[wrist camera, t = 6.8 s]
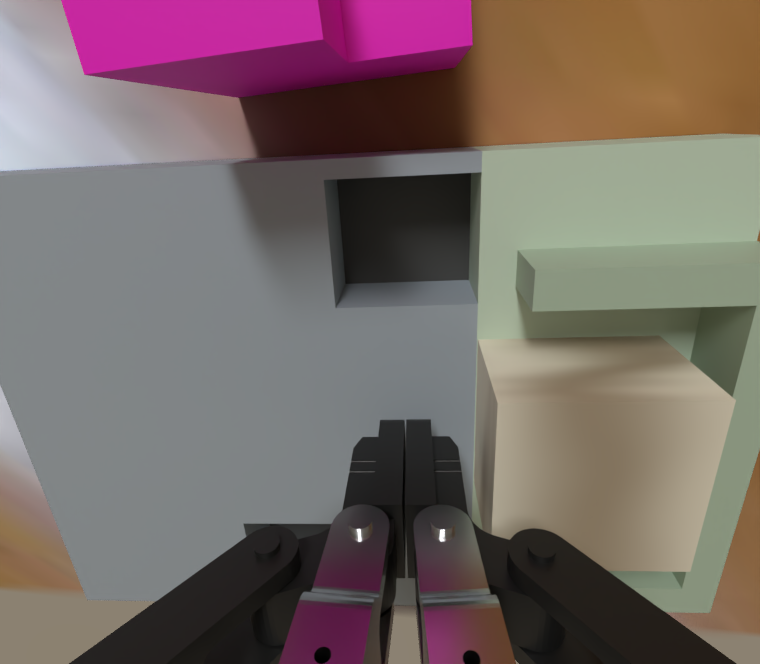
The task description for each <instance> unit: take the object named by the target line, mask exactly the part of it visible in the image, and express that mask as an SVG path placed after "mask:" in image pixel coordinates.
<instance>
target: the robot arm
mask: <svg viewBox="0 0 760 664" xmlns="http://www.w3.org/2000/svg"><path fill="white" fill-rule="evenodd" d="M406 543H407V568H408V578H415V593H416V615H417V625H418V637H419V648H420V659H421V664H516V662H515V660H516V661H517V662H518V663H519V664H736V663H735V662H733V661H732V660H730V659H729V658H728V657H726V656H725V655H724V654H722V653H721V652H719V651H718V650H717V649H715V648H714V647H712V646H711V645H710V644H708V643H707V642H706V641H704V640H703V639H701V638H700V637H699V636H697V635H696V634H695V633H693V632H692V631H690V630H689V629H688V628H686V627H685V626H683V625H682V624H681V623H679V622H678V621H677V620H675V619H674V618H672V617H671V616H670V615H668V614H667V613H665V612H664V611H663V610H661V609H660V608H659V607H657V606H656V605H654V604H653V603H652V602H650V601H649V600H647V599H646V598H645V597H643V596H642V595H641V594H639V593H638V592H636V591H635V590H634V589H632V588H631V587H629V586H628V585H627V584H625V583H624V582H623V581H621V580H620V579H618V578H617V577H616V576H614V575H613V574H611V573H610V572H609V571H607V570H606V569H604V568H603V567H602V566H600V565H599V564H598V563H596V562H595V561H593V560H592V559H591V558H589V557H588V556H586V555H585V554H584V553H582V552H581V551H580V550H578V549H577V548H575V547H574V546H573V545H571V544H570V543H568V542H567V541H566V540H564V539H563V538H562V537H560V536H558V535H557V534H555V533H553V532H550V531H547V530H543V529H537V528H530V529H524V530H521V531H519V532H517V533H516V534H515V535H513V537H512V538H511V539H510V540H509V539H505V538H501V537H498V536H494V535H491V534H489V533H487V532H485V531H483V530H482V529H480V528H479V527H478V526H476V525H475V524H474V522H473V521H472V520H471V518H470V516H469V514H468V511H467V504H466V497H465V490H464V484H463V477H462V470H461V463H460V456H459V449H458V446H457V445H456V444H455V443H454V441H453V440H452V439H451V438H450V436H432V431H431V419H406V444H405V421H404V420H380V425H379V434H378V437H362V438H361V439H360V441H359V442H358V443H357V444H356V445H355V447H354V448H353V453H352V459H351V464H350V470H349V476H348V481H347V487H346V492H345V498H344V503H343V509H342V511H341V512H340V513H338V514H337V515H336V517H335V518H334V520H333V522H332V524H331V527H330V528H328V529H327V530H325V531H323V532H321V533H319V534H316V535H312V536H308V537H305V538H301V539H297V537H296V535H295V534H294V533H293V532H292V531H291V530H289V529H288V528H285V527H281V526H269V527H264V528H261V529H258V530H256V531H254V532H253V533H251V534H249V535H248V536H247V537H245V538H244V539H242V540H241V541H240V542H238V543H237V544H235V545H234V546H233V547H231V548H230V549H228V550H227V551H226V552H224V553H223V554H221V555H220V556H219V557H217V558H216V559H215V560H213V561H212V562H210V563H209V564H208V565H206V566H205V567H203V568H202V569H201V570H199V571H198V572H196V573H195V574H194V575H192V576H191V577H189V578H188V579H187V580H185V581H184V582H182V583H181V584H180V585H178V586H177V587H175V588H174V589H173V590H171V591H170V592H168V593H167V594H166V595H164V596H163V597H161V598H160V599H159V600H157V601H156V602H155V603H153V604H152V605H150V606H149V607H148V608H146V609H145V610H143V611H142V612H141V613H139V614H138V615H136V616H135V617H134V618H132V619H131V620H129V621H128V622H127V623H125V624H124V625H122V626H121V627H120V628H118V629H117V630H115V631H114V632H113V633H111V634H110V635H109V636H107V637H106V638H104V639H103V640H102V641H100V642H99V643H97V644H96V645H95V646H93V647H92V648H90V649H89V650H88V651H86V652H85V653H83V654H82V655H81V656H79V657H78V658H76V659H75V660H74V661H72V662H71V663H69V664H388V657H389V649H390V640H391V631H392V624H393V615H394V600H395V597H396V579H397V578H405V560H406Z"/></svg>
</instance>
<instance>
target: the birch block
mask: <svg viewBox="0 0 760 664" xmlns="http://www.w3.org/2000/svg"><path fill="white" fill-rule="evenodd" d="M735 402H736V400H735V399H734V398H733V397H732V396H730V395H729V394H728V393H727V392H726V391H724V390H723V389H722V388H721V387H720V386H718V385H717V384H716V383H715V382H714V381H713V380H711V379H710V378H709V377H708V376H707V375H705V374H704V373H703V372H702V371H701V370H700V369H698V368H697V367H696V366H695V365H694V364H692V363H691V362H690V361H689V360H688V359H687V358H685V357H684V356H683V355H682V354H681V353H679V352H678V351H677V350H676V349H675V348H674V347H672V346H671V345H670V344H669V343H668V342H666V341H665V340H664V339H663V338H662V337H661V336H659V335H656V336H612V337H568V338H524V339H481V340H478V353H477V387H476V422H475V456H474V483H475V489H476V495H477V500H478V506H479V512H480V517H481V523H482V529H483V531H485V532H487V533H489V534H491V535H494V536H498V537H501V538H505V539H509V540H510V539H511V538H512V537H513V535H515V534H516V533H517V532H519V531H521V530H524V529H530V528H537V529H543V530H547V531H550V532H553V533H555V534H557V535H558V536H560V537H562V538H563V539H564V540H566V541H567V542H568V543H570V544H571V545H573V546H574V547H575V548H577V549H578V550H580V551H581V552H582V553H584V554H585V555H586V556H588V557H589V558H591V559H592V560H593V561H595V562H596V563H598V564H599V565H600V566H602V567H603V568H604V569H606V570H607V571H662V572H690V571H691V567H692V563H693V560H694V556H695V552H696V549H697V545H698V541H699V537H700V534H701V530H702V526H703V522H704V519H705V515H706V511H707V507H708V504H709V500H710V496H711V492H712V489H713V485H714V481H715V477H716V474H717V470H718V466H719V462H720V459H721V455H722V451H723V447H724V444H725V440H726V436H727V432H728V429H729V425H730V421H731V417H732V414H733V410H734V406H735Z"/></svg>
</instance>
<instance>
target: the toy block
mask: <svg viewBox="0 0 760 664" xmlns="http://www.w3.org/2000/svg"><path fill="white" fill-rule="evenodd" d="M61 1H62V4H63V8H64V11H65V14H66V17H67V20H68V24H69V27H70V30H71V33H72V36H73V39H74V43H75V46H76V49H77V52H78V55H79V59H80V62H81V65H82V68H83V71H84V75H90V76H97V77H103V78H110V79H117V80H124V81H130V82H137V83H144V84H150V85H157V86H164V87H171V88H177V89H184V90H191V91H198V92H204V93H211V94H218V95H224V96H231V97H238V98H240V97H247V96H254V95H262V94H269V93H276V92H283V91H291V90H298V89H305V88H312V87H320V86H327V85H334V84H341V83H349V82H356V81H363V80H370V79H378V78H385V77H392V76H399V75H407V74H414V73H421V72H428V71H436V70H443V69H450V68H455V67H456V66H457V64H458V63H459V62H460V61H461V59H462V58H463V57H464V55H465V54H466V53H467V52H468V50H469V49H470V48H471V46H472V45H473V43H472V17H471V0H61Z"/></svg>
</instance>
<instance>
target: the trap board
mask: <svg viewBox="0 0 760 664" xmlns="http://www.w3.org/2000/svg"><path fill="white" fill-rule="evenodd" d="M759 230H760V135H745V134H708V135H689V136H669V137H650V138H631V139H612V140H593V141H574V142H554V143H535V144H516V145H497V146H478V147H458V148H439V149H420V150H401V151H382V152H363V153H343V154H324V155H305V156H286V157H267V158H247V159H228V160H209V161H190V162H171V163H152V164H132V165H113V166H94V167H75V168H56V169H36V170H17V171H0V385H1V387H2V390H3V392H4V395H5V397H6V400H7V402H8V405H9V407H10V410H11V412H12V415H13V417H14V419H15V422H16V424H17V427H18V429H19V432H20V434H21V437H22V439H23V442H24V444H25V447H26V449H27V452H28V454H29V457H30V459H31V462H32V464H33V467H34V469H35V472H36V474H37V476H38V479H39V481H40V484H41V486H42V489H43V491H44V494H45V496H46V499H47V501H48V504H49V506H50V509H51V511H52V514H53V516H54V519H55V521H56V524H57V526H58V529H59V531H60V534H61V536H62V538H63V541H64V543H65V546H66V548H67V551H68V553H69V556H70V558H71V561H72V563H73V566H74V568H75V571H76V573H77V576H78V578H79V581H80V583H81V586H82V588H83V591H84V593H85V595H86V598H87V600H118V601H157V600H159V599H160V598H161V597H163V596H164V595H166V594H167V593H168V592H170V591H171V590H173V589H174V588H175V587H177V586H178V585H180V584H181V583H182V582H184V581H185V580H187V579H188V578H189V577H191V576H192V575H194V574H195V573H196V572H198V571H199V570H201V569H202V568H203V567H205V566H206V565H208V564H209V563H210V562H212V561H213V560H215V559H216V558H217V557H219V556H220V555H221V554H223V553H224V552H226V551H227V550H228V549H230V548H231V547H233V546H234V545H235V544H237V543H238V542H240V541H241V540H242V539H244V538H245V537H247V536H248V535H249V534H251V533H253V532H254V531H256V530H258V529H261V528H264V527H269V526H281V527H285V528H288V529H289V530H291V531H292V532H293V533H294V534H295V535H296V537H297V539H301V538H305V537H308V536H312V535H316V534H319V533H321V532H323V531H325V530H327V529H328V528H330V527H331V524H332V522H333V520H334V518H335V517H336V515H337V514H338V513H340V512H341V511H342V509H343V503H344V498H345V492H346V487H347V481H348V476H349V470H350V464H351V459H352V453H353V448H354V447H355V445H356V444H357V443H358V442H359V441H360V439H361V438H362V437H378V434H379V425H380V420H404V421H405V444H406V419H431V431H432V436H450V438H451V439H452V440H453V441H454V443H455V444H456V445H457V446H458V449H459V456H460V463H461V470H462V477H463V484H464V490H465V497H466V504H467V511H468V514H469V516H470V518H471V520H472V521H473V522H474V524H475V525H476V526H478V527H479V528H480V529H482V523H481V517H480V512H479V506H478V500H477V495H476V489H475V483H474V456H475V422H476V387H477V353H478V340H481V339H524V338H568V337H612V336H656V335H659V336H661V337H662V338H663V339H664V340H665V341H666V342H668V343H669V344H670V345H671V346H672V347H674V348H675V349H676V350H677V351H678V352H679V353H681V354H682V355H683V356H684V357H685V358H687V359H688V360H689V361H690V362H691V363H692V364H694V365H695V366H696V367H697V368H698V369H700V370H701V371H702V372H703V373H704V374H705V375H707V376H708V377H709V378H710V379H711V380H713V381H714V382H715V383H716V384H717V385H718V386H720V387H721V388H722V389H723V390H724V391H726V392H727V393H728V394H729V395H730V396H732V397H733V398H734V399H735V400H736V402H735V406H734V410H733V414H732V417H731V421H730V425H729V429H728V432H727V436H726V440H725V444H724V447H723V451H722V455H721V459H720V462H719V466H718V470H717V474H716V477H715V481H714V485H713V489H712V492H711V496H710V500H709V504H708V507H707V511H706V515H705V519H704V522H703V526H702V530H701V534H700V537H699V541H698V545H697V549H696V552H695V556H694V560H693V563H692V567H691V571H690V572H662V571H609V572H610V573H611V574H613V575H614V576H616V577H617V578H618V579H620V580H621V581H623V582H624V583H625V584H627V585H628V586H629V587H631V588H632V589H634V590H635V591H636V592H638V593H639V594H641V595H642V596H643V597H645V598H646V599H647V600H649V601H650V602H652V603H653V604H654V605H656V606H657V607H659V608H660V609H661V610H663V611H664V612H687V613H710V611H711V607H712V604H713V601H714V597H715V594H716V591H717V588H718V584H719V581H720V578H721V574H722V571H723V568H724V565H725V561H726V558H727V555H728V551H729V548H730V545H731V541H732V538H733V535H734V532H735V528H736V525H737V522H738V518H739V515H740V512H741V509H742V505H743V502H744V499H745V495H746V492H747V489H748V486H749V482H750V479H751V476H752V472H753V469H754V466H755V462H756V459H757V456H758V453H759V449H760V242H758V241H757V238H758V234H759ZM482 530H483V529H482ZM394 605H402V606H416V593H415V578H408V568H407V543H406V560H405V578H397V579H396V597H395V600H394Z"/></svg>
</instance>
